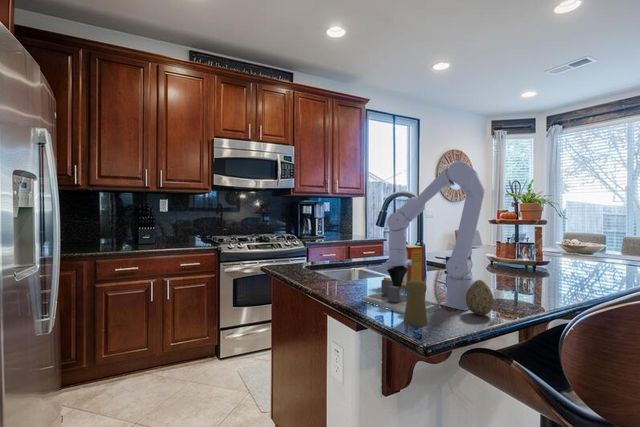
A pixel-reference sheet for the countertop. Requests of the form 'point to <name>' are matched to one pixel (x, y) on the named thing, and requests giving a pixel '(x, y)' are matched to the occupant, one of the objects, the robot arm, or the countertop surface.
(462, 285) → the robot arm
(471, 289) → the decorative egg
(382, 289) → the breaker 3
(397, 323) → the countertop surface
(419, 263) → the baking soda box
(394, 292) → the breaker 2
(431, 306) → the panel
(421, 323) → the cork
